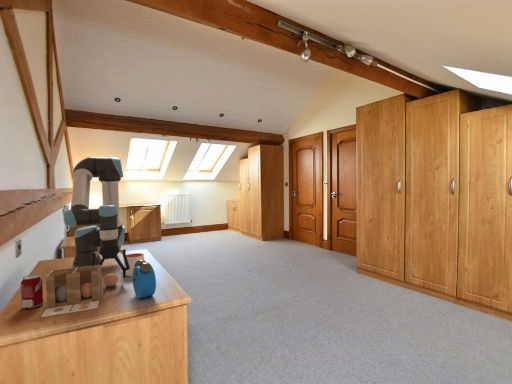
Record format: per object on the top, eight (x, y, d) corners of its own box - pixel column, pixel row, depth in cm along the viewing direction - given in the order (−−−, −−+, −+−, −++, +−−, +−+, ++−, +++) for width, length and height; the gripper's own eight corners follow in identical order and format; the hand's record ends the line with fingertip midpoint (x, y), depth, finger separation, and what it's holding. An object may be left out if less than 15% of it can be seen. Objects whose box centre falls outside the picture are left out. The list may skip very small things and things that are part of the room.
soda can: (31, 310, 110) (30, 279, 109) (17, 309, 111) (15, 278, 111) (47, 303, 116) (46, 274, 116) (34, 302, 118) (32, 273, 117)
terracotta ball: (81, 295, 122) (80, 282, 122) (97, 293, 124) (96, 279, 124) (78, 301, 116) (78, 286, 116) (95, 298, 119) (94, 284, 118)
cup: (131, 278, 146) (131, 258, 146) (120, 275, 151) (119, 256, 151) (148, 272, 154) (148, 254, 154) (136, 270, 160) (136, 252, 159)
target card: (46, 309, 110) (46, 308, 110) (99, 301, 117) (99, 300, 117) (40, 317, 104) (40, 315, 104) (96, 308, 110) (96, 306, 110)
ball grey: (57, 299, 118) (56, 285, 118) (74, 297, 121) (73, 282, 121) (53, 305, 113) (52, 290, 113) (71, 302, 115) (70, 287, 115)
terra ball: (104, 285, 135) (103, 272, 135) (118, 283, 137) (118, 270, 137) (102, 289, 129) (102, 276, 129) (117, 287, 132) (117, 274, 131)
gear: (106, 286, 134) (106, 284, 134) (116, 285, 136) (116, 283, 136) (105, 289, 130) (105, 287, 130) (115, 288, 132) (115, 286, 132)
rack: (53, 300, 119) (52, 270, 119) (101, 293, 126) (100, 264, 126) (47, 308, 111) (45, 276, 110) (99, 300, 118) (98, 270, 117)
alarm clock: (156, 299, 118) (155, 263, 117) (141, 303, 114) (140, 266, 114) (146, 290, 128) (145, 257, 128) (132, 294, 124) (131, 259, 124)
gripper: (80, 242, 125) (82, 293, 125) (134, 237, 133) (136, 285, 134) (83, 239, 132) (85, 288, 132) (134, 235, 140) (136, 280, 141)
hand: (110, 286), depth 133 cm, fingers open, 9 cm apart
